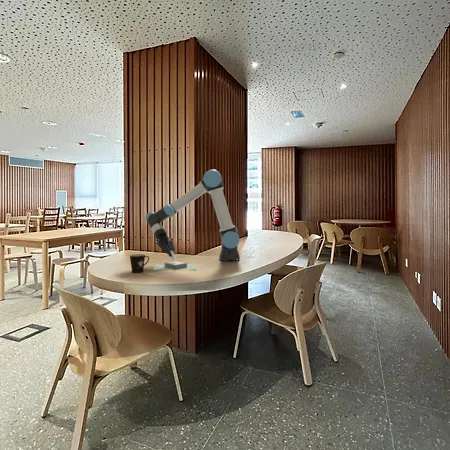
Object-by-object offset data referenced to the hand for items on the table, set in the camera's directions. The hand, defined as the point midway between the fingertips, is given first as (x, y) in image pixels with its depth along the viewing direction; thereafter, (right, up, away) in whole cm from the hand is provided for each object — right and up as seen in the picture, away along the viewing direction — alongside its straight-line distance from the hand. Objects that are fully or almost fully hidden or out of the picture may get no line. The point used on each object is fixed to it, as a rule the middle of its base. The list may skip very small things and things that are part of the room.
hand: (174, 259), depth 196 cm
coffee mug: (-19, -6, -11) cm, 23 cm away
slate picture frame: (-3, -3, +3) cm, 6 cm away
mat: (0, -5, +1) cm, 5 cm away
